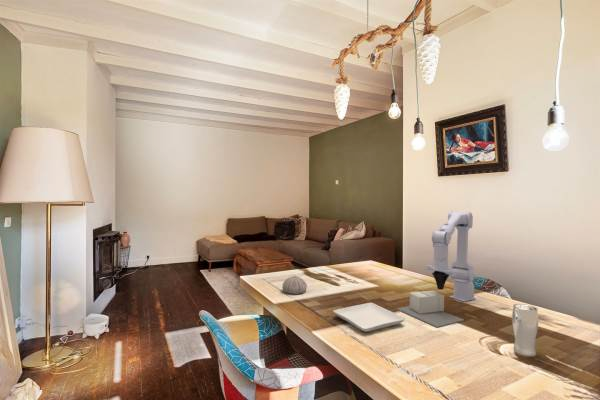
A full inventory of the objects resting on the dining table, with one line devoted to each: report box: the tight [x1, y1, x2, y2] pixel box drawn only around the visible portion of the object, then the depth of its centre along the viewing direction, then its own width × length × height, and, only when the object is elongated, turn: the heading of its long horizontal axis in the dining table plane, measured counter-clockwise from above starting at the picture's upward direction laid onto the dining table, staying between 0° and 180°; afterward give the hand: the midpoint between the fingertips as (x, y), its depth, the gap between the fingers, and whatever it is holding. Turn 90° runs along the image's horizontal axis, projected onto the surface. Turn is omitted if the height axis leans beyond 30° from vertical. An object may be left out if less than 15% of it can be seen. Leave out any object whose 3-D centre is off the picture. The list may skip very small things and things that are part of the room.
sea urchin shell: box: [281, 275, 308, 295], centre depth 170 cm, size 13×14×8 cm
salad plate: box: [332, 302, 406, 333], centre depth 130 cm, size 21×21×3 cm
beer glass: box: [511, 303, 539, 358], centre depth 105 cm, size 7×7×15 cm
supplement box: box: [409, 290, 445, 314], centre depth 142 cm, size 7×7×13 cm
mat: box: [396, 305, 465, 329], centre depth 137 cm, size 16×22×1 cm
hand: (440, 289), depth 140 cm, fingers closed
